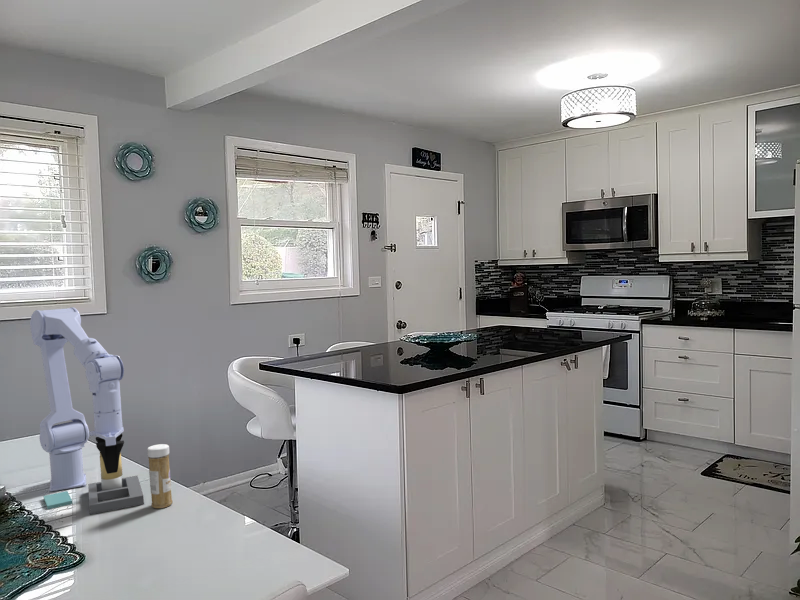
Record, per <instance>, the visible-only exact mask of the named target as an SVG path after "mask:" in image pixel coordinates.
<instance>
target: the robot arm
mask: <svg viewBox="0 0 800 600" xmlns="http://www.w3.org/2000/svg"><path fill="white" fill-rule="evenodd" d="M81 317H82V316H81V314H80V311H79V310H78V309H77V308H76V307H68V308H55V309H44V310H41V309H36V310H34V311H33V312H32V314H31V315H30V320H29V327H30V333H31V339H32V342H33V343H32V344H33V345H35V346H38V347H39V349H40V352H41V353H40V354H41V359H42V366H43V373H44V378H45V383H46V392H47V398H48V405H49V410H50V412H49V413H48V414H47V415H46V416H44V417H43V419H42V420H41V421H40V422H39V443H40V446H41V449H42V450H43V451H44V452H46V453H48V454H49V464H50V467H49V468H50V483H49V489H48V491H49V492H56V491H62V490H69V489H73V488H81V487H86V486H87V475H86V473H85V472H84V459H83V448H85V445H86V444H87V442H88V440H89V437H93V436H95V441H96V443H95V445H96V448H97V450H98V451H99V454H100V453H101V455H102V458H103V461H104V465H105V469H106V472H107V474H109V473H115V472H117V471H118V465H119V457H120V452H121V453H122V449H123V446H124V445H125V441H124V440H123V439H122V437H123V433H124V431H125V430H124V428H125V427H124V426H123V415H122V414H123V412H122V398H121V385H120V384H121V383H120V381H121V380H123V378H124V375H125V366H124V363H123V361H122V358H120V356H119V355H117V354H110V353H108V351H107V349H105V348H104V347H103V345H102V344H101V343H100V342H99V341H98V340H97V339H96V338H93V337H89V336H88V334H87V333H86V331H85V330H84V328H83V327H82V318H81ZM68 342H69V343H70V345H72V346H73V347H74V349H73V355H74V356H75V357H76V359H77V360H78V361H79V363H81V365H82V366H83V367H84V369H85V377H86V381H87V382H88V389H89V392H90V393H92V406H93V423H94V430H89V425H88V424H87V421H86V418H85V414H84V413H82V412H80V411H78V410H76V409H74V408H73V402H72V396H71V395H72V394H71V389H70V383H69V378H68V377H69V376H68V371H67V364H66V359H65V358H66V357H65V352H64V347H65V345H66V344H67V343H68ZM62 422H64V423H62ZM58 423H59V424H58Z"/></svg>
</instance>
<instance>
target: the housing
mask: <svg viewBox="0 0 800 600" xmlns="http://www.w3.org/2000/svg"><path fill="white" fill-rule="evenodd" d="M121 478H122V488H117V489H112V490H106V491H102V485H101V481H97V482H93V483H87V484H88V486H87V487H88V504H89V515H95V514H99V513H101V514H102V513H105V512H111V511H115V510H121V509H125V508H132V507H136V506H141V505H144V504H145V502H144V501H145V500H144V497H145V496H144V494H143V490H142V486H141V484H140V483H141V482H140V480H139V479H140V478H139V476H138V475H132V476H126V477H121Z"/></svg>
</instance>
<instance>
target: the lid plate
mask: <svg viewBox="0 0 800 600" xmlns="http://www.w3.org/2000/svg"><path fill="white" fill-rule="evenodd" d="M43 502H44V503H45V506H46V508H47V510H52V509H56V508H61V507H65V506H69V505H73V499H72V498H71V495H70V494H69V492H68V490H65V491H62V492H57V493H56V492H55V493H52V494H46V495H43Z"/></svg>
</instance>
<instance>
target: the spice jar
mask: <svg viewBox="0 0 800 600" xmlns="http://www.w3.org/2000/svg"><path fill="white" fill-rule="evenodd" d="M146 451H147V453H146V454H147V458H148V464H149V465H148V468H149V470H148V474H149V487H150V494H151V496H150V497H151V503H150V504H151V508H153V509H165V508H167V507H169V506H171V505H172V504H173V497H172V482H171V481H172V480H171V479H172V478H171V469H170V457H169V456H170V445H168V444H165V443H160V444H154V445H151V446H148V447H147V449H146Z"/></svg>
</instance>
